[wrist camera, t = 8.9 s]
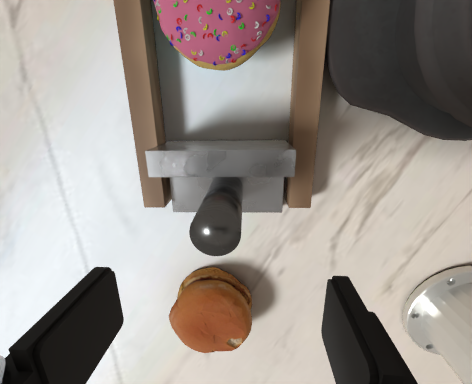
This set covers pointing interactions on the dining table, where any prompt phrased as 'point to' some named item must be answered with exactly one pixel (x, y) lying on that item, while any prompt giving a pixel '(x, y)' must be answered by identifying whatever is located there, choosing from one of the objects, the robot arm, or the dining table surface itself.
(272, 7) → the cupcake
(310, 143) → the press bed
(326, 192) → the dining table surface
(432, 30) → the casserole
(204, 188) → the ram
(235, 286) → the burger
